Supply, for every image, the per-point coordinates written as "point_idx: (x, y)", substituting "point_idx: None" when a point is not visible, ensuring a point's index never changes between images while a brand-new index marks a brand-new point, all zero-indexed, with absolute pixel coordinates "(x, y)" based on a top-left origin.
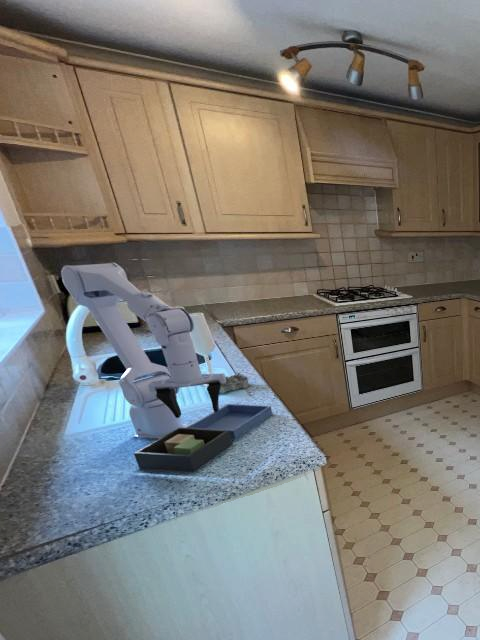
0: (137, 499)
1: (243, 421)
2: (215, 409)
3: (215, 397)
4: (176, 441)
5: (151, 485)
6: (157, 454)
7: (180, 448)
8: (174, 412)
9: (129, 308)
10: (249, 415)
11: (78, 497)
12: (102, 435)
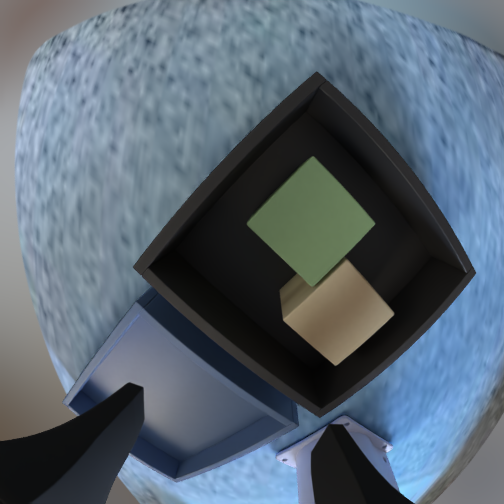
0: (431, 72)
1: None
2: (124, 392)
3: (54, 436)
4: (357, 290)
5: (415, 120)
6: (428, 194)
7: (350, 196)
8: (353, 448)
9: None
10: None
11: None
12: (418, 463)
